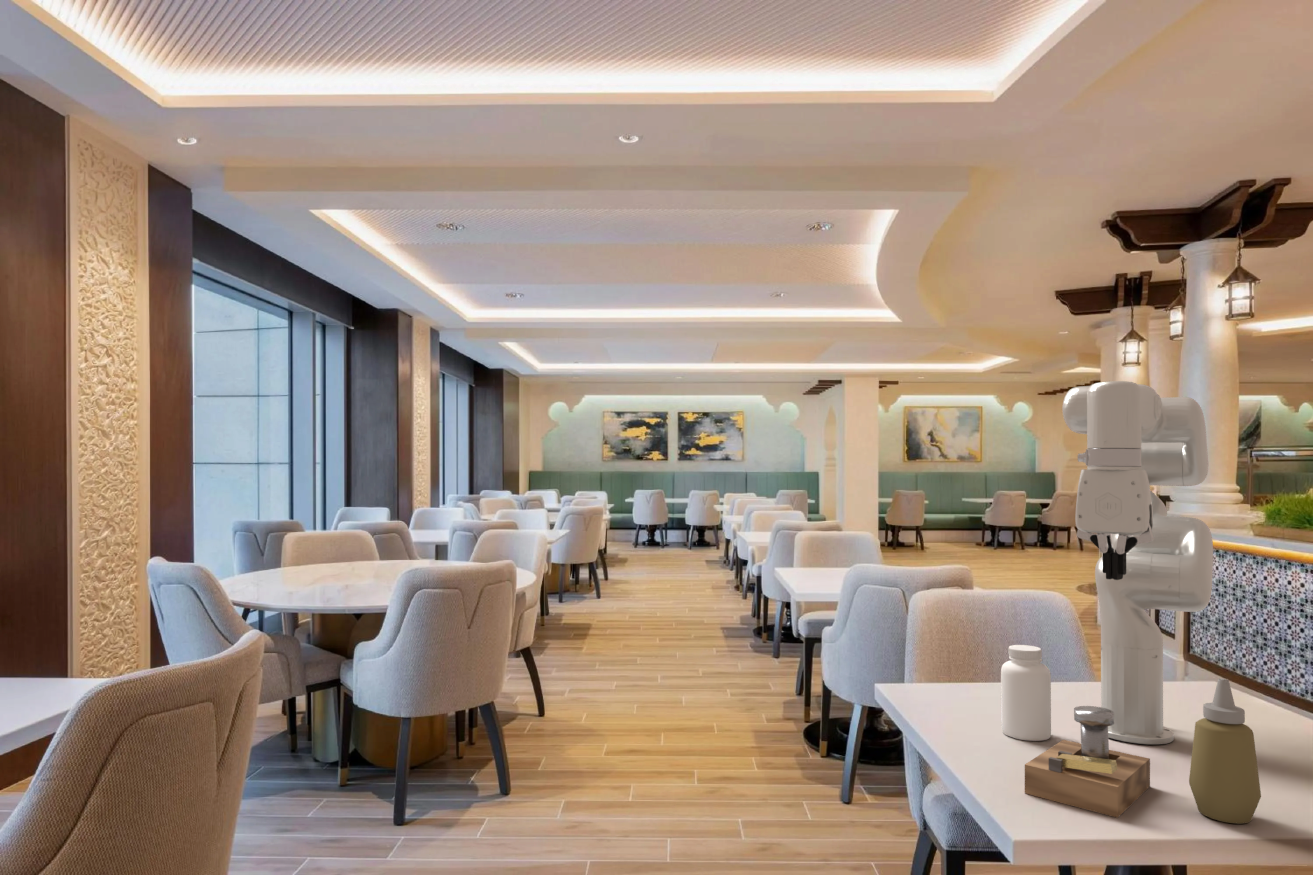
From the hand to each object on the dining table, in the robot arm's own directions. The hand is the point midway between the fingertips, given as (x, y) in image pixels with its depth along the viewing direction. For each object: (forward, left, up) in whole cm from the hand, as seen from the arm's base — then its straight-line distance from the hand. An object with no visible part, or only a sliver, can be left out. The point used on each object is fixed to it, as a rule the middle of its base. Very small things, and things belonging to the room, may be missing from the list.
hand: (1114, 578), depth 134 cm
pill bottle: (-7, -16, -29) cm, 34 cm away
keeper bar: (+19, +1, -24) cm, 31 cm away
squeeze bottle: (+10, +16, -29) cm, 35 cm away
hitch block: (+13, 0, -29) cm, 32 cm away
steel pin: (+10, 0, -29) cm, 31 cm away
